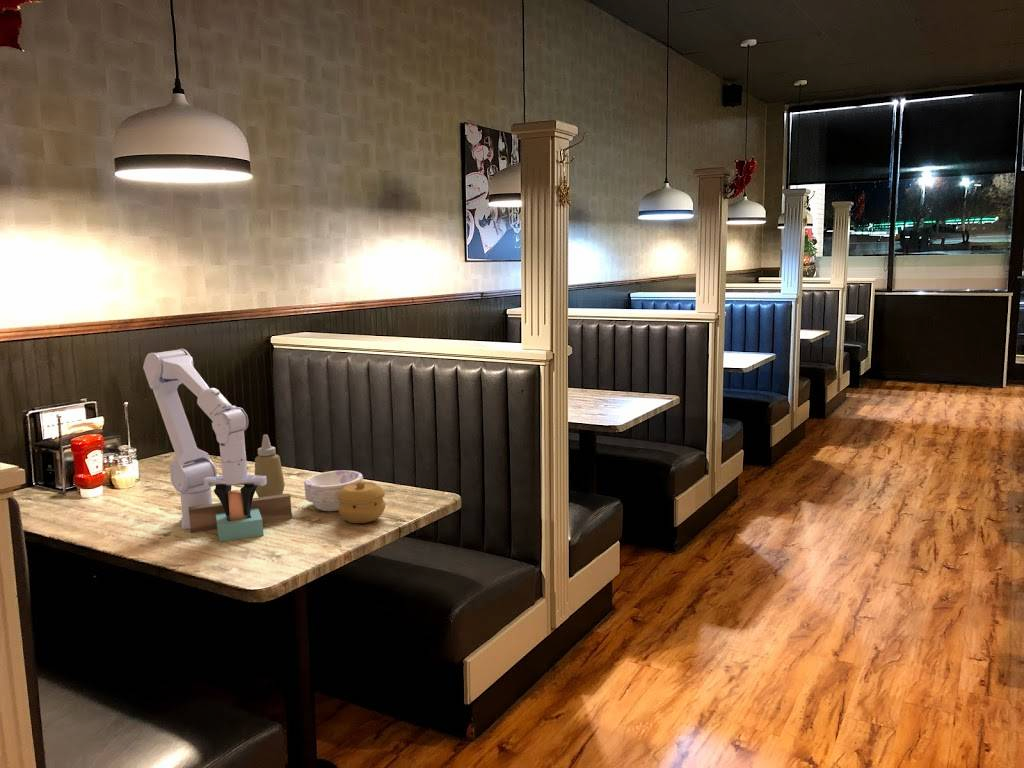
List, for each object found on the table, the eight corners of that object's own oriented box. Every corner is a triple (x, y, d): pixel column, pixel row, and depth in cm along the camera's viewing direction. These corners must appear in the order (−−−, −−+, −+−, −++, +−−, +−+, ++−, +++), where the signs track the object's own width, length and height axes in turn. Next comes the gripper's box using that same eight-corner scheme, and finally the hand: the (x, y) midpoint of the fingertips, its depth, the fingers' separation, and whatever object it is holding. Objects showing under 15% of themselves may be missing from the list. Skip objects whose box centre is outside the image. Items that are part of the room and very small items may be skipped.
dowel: (233, 521, 204) (230, 489, 203) (249, 521, 204) (247, 489, 203) (228, 527, 200) (225, 494, 199) (245, 526, 200) (242, 493, 199)
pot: (365, 510, 217) (362, 472, 216) (396, 518, 210) (394, 479, 208) (329, 522, 209) (326, 483, 207) (360, 531, 201) (357, 490, 200)
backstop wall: (190, 530, 206) (188, 507, 205) (290, 516, 214) (289, 493, 213) (191, 533, 203) (188, 509, 202) (292, 518, 212) (290, 495, 211)
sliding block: (217, 529, 205) (215, 513, 205) (259, 523, 209) (258, 507, 208) (219, 542, 196) (217, 525, 195) (263, 535, 200) (262, 519, 199)
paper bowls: (293, 511, 218) (291, 481, 217) (331, 495, 232) (329, 467, 230) (339, 518, 211) (337, 488, 210) (376, 501, 225) (374, 472, 223)
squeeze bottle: (249, 503, 227) (244, 438, 224) (265, 494, 235) (259, 431, 232) (276, 504, 225) (271, 438, 222) (291, 495, 233) (286, 432, 230)
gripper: (269, 454, 203) (273, 508, 205) (210, 455, 204) (215, 509, 206) (259, 462, 196) (263, 517, 198) (198, 463, 197) (203, 518, 199)
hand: (238, 514), depth 202 cm, fingers closed on dowel, 4 cm apart
